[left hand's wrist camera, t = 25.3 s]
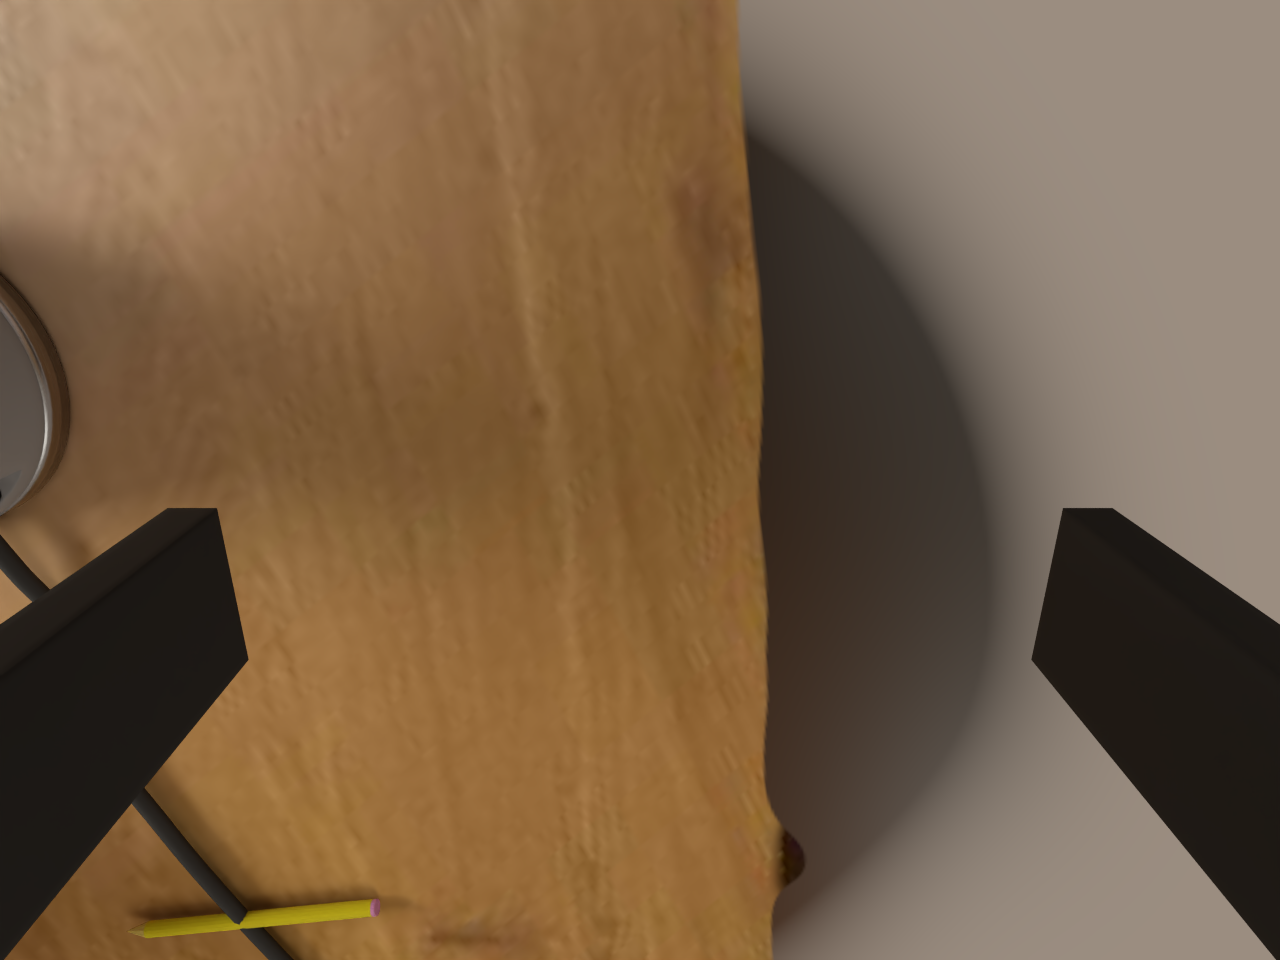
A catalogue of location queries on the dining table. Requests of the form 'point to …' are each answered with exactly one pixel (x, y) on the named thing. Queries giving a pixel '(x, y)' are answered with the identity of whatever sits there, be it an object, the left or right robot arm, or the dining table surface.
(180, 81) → the dining table surface
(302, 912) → the pencil
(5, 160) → the dining table surface
